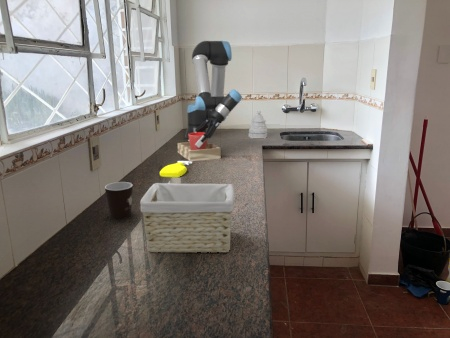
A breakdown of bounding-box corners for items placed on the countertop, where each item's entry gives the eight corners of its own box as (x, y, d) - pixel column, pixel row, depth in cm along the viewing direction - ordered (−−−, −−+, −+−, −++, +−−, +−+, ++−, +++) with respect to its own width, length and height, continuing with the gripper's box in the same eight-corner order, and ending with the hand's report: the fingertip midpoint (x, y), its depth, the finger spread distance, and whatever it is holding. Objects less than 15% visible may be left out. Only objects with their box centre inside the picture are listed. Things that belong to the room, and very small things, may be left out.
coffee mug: (120, 222, 114) (117, 192, 111) (101, 216, 119) (98, 187, 116) (146, 210, 124) (144, 182, 121) (128, 205, 128) (126, 178, 125)
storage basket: (141, 255, 95) (137, 201, 91) (154, 228, 110) (152, 181, 106) (233, 256, 94) (234, 202, 90) (234, 229, 109) (234, 182, 106)
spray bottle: (157, 177, 162) (174, 164, 186) (181, 178, 161) (195, 165, 184) (157, 170, 162) (174, 158, 185) (181, 172, 160) (195, 159, 183)
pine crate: (177, 152, 208) (177, 143, 206) (205, 150, 215) (205, 140, 213) (190, 161, 189) (190, 151, 187) (220, 158, 195) (220, 148, 194)
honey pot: (268, 138, 249) (268, 112, 245) (249, 138, 249) (249, 112, 245) (266, 135, 262) (267, 110, 257) (248, 135, 262) (248, 110, 257)
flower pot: (209, 149, 206) (209, 132, 203) (206, 153, 195) (206, 135, 193) (190, 148, 207) (190, 131, 204) (186, 153, 196) (186, 135, 194)
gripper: (233, 121, 192) (205, 152, 190) (216, 116, 213) (191, 144, 211) (223, 111, 189) (195, 143, 187) (207, 107, 209) (182, 136, 207)
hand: (193, 144), depth 199 cm, fingers closed on flower pot, 11 cm apart
